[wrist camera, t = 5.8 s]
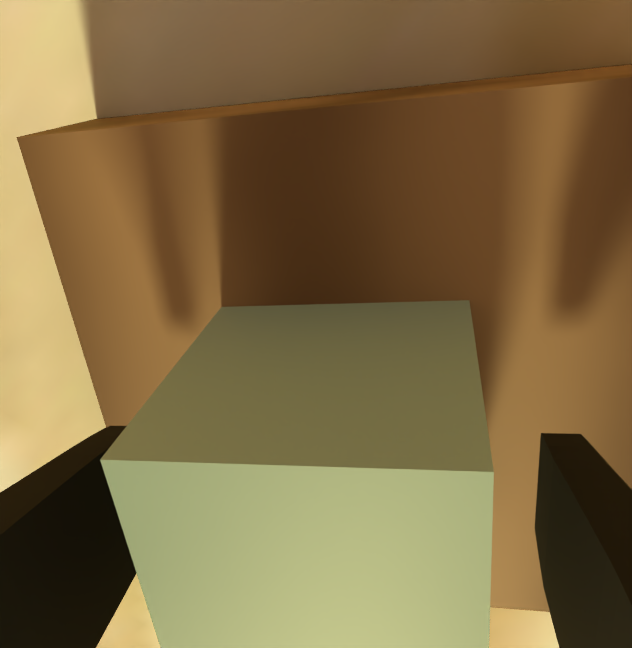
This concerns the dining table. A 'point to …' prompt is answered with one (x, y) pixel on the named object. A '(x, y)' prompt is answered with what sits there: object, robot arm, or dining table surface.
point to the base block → (372, 246)
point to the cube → (314, 481)
